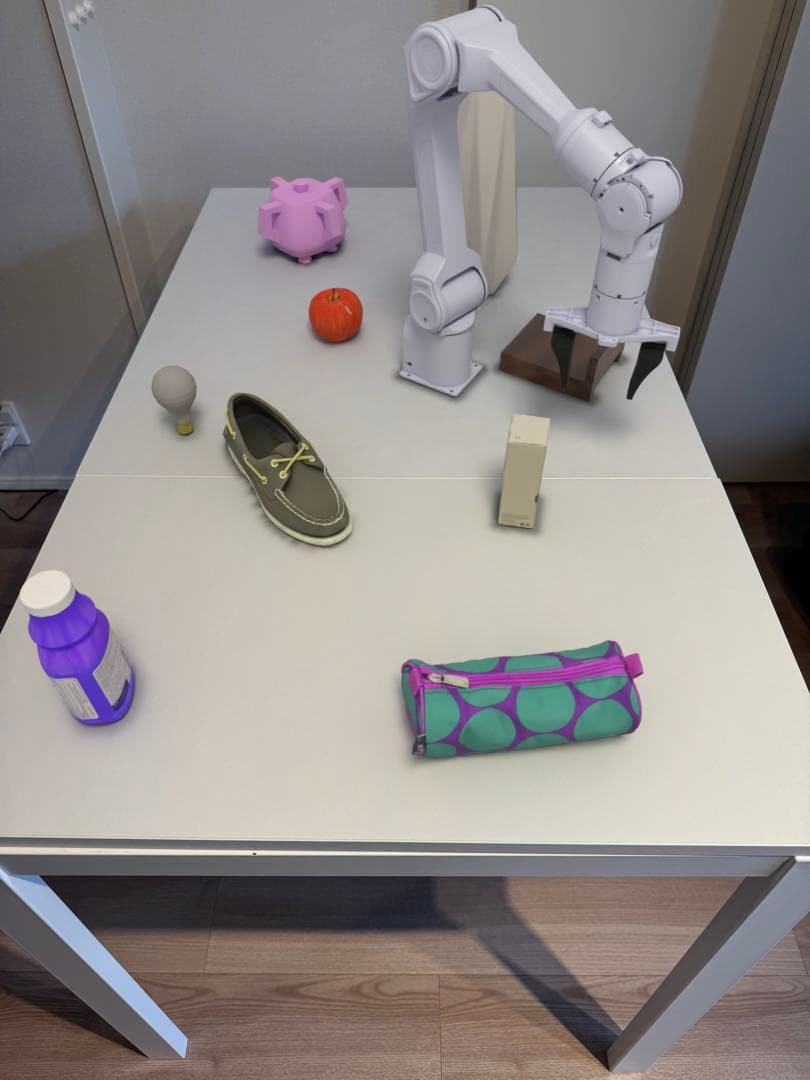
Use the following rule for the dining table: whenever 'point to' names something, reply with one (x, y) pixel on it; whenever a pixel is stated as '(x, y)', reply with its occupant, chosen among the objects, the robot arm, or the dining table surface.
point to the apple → (336, 314)
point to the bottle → (77, 649)
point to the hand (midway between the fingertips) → (597, 389)
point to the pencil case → (522, 700)
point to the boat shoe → (285, 472)
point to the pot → (304, 216)
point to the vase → (489, 181)
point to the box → (523, 470)
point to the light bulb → (176, 394)
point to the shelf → (539, 363)
